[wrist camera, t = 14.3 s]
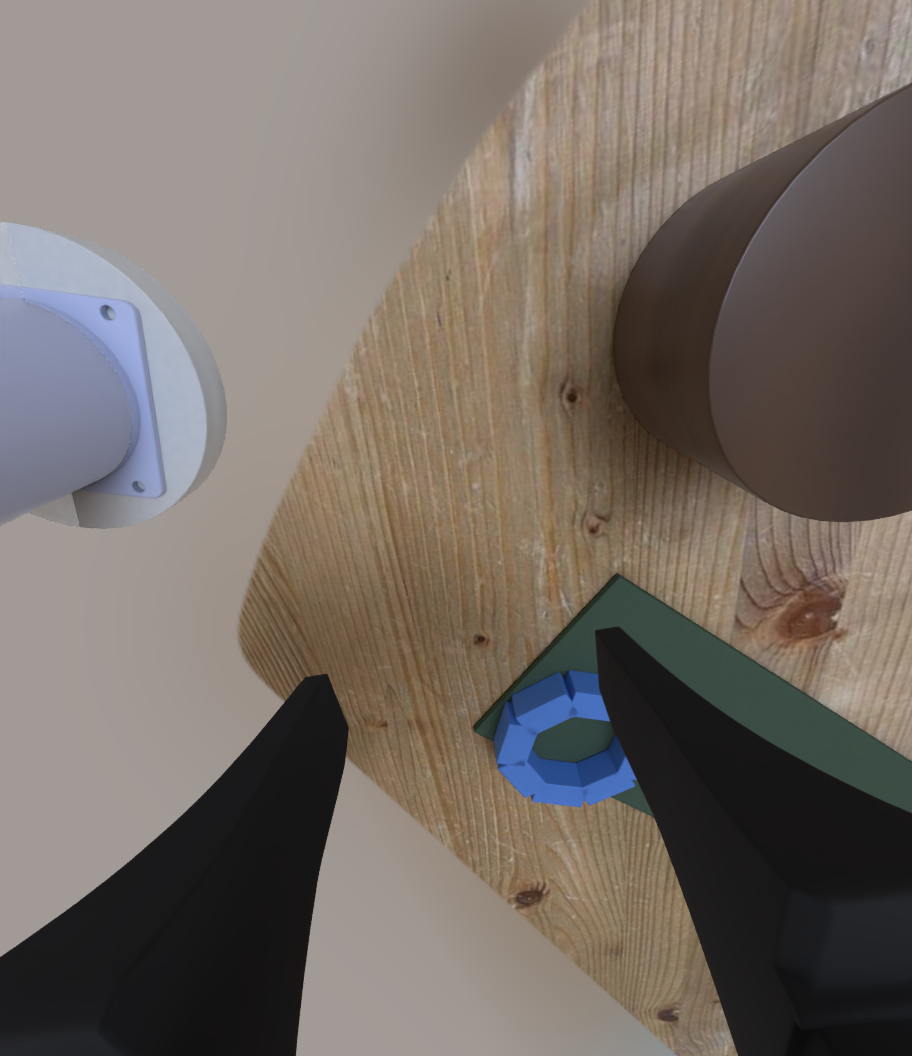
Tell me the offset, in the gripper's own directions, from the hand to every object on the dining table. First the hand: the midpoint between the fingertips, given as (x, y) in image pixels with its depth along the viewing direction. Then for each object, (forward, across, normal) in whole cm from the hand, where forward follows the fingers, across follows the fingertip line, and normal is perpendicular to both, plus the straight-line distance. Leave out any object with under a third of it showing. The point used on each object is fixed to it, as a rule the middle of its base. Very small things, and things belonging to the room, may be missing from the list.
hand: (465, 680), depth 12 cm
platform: (+9, -12, -6) cm, 17 cm away
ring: (+9, -4, +13) cm, 16 cm away
